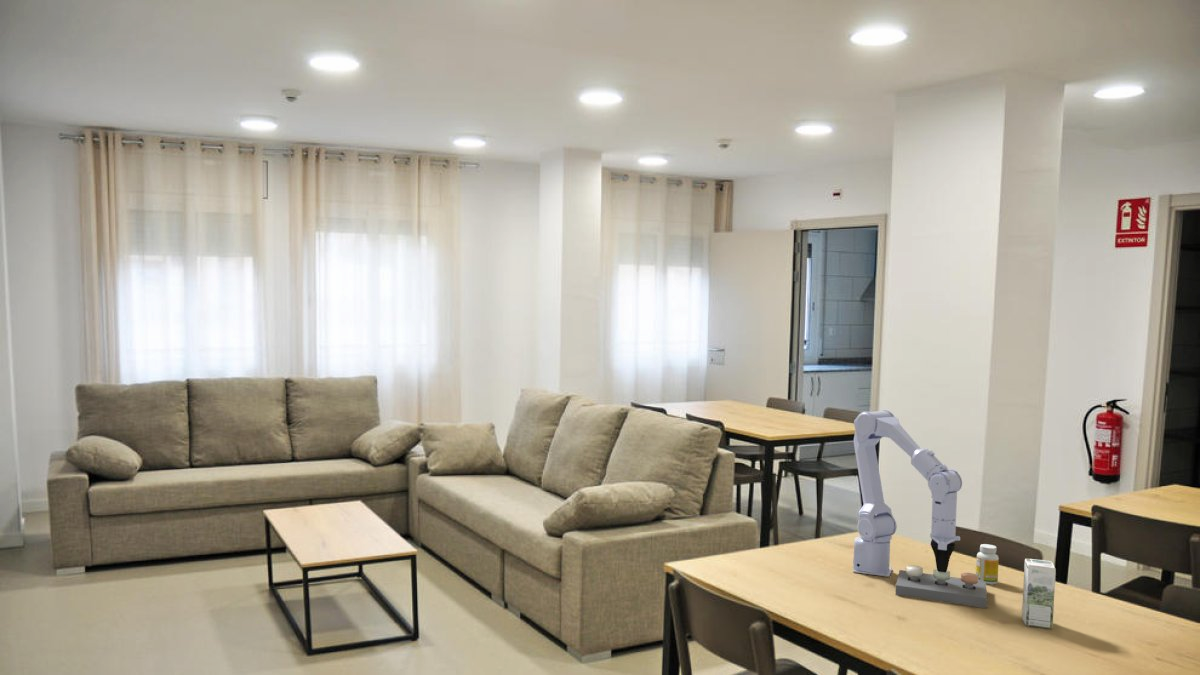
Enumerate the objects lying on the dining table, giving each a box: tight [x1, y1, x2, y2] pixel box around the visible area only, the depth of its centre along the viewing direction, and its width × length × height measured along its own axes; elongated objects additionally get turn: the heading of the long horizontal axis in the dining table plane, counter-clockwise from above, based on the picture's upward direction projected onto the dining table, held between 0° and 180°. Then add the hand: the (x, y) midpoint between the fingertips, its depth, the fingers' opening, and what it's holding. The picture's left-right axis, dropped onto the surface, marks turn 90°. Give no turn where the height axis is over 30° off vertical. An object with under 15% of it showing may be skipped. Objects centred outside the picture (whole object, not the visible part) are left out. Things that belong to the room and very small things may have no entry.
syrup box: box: [1021, 558, 1057, 630], centre depth 197 cm, size 6×6×14 cm
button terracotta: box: [960, 572, 978, 589], centre depth 215 cm, size 4×4×4 cm
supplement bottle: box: [975, 543, 1000, 585], centre depth 228 cm, size 5×5×10 cm
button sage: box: [932, 568, 951, 586], centre depth 217 cm, size 4×4×4 cm
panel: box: [895, 569, 988, 609], centre depth 217 cm, size 21×14×2 cm, turn 67°
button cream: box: [905, 564, 924, 582], centre depth 220 cm, size 4×4×4 cm
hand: (941, 571), depth 217 cm, fingers closed
